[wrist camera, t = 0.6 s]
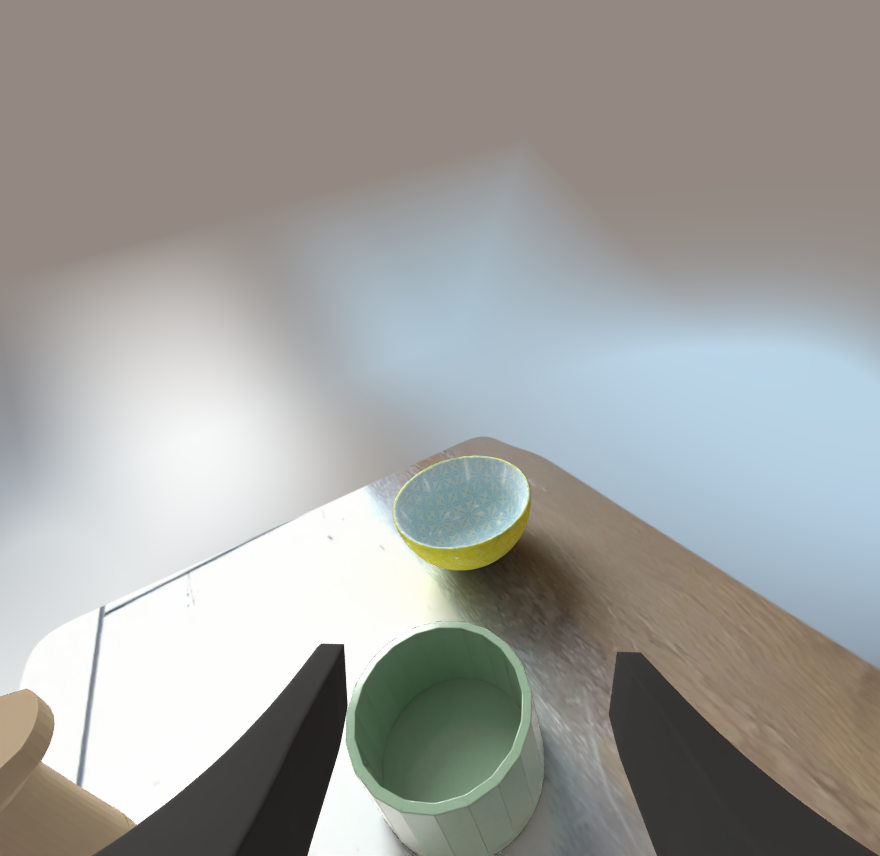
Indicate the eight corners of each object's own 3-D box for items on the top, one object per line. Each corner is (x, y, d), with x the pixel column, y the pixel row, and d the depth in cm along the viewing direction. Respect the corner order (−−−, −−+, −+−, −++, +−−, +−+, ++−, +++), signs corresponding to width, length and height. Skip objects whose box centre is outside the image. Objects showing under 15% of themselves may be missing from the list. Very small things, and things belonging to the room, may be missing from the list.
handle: (215, 895, 26) (34, 755, 18) (83, 1008, 23) (-189, 900, 16) (197, 813, 30) (40, 668, 22) (82, 903, 27) (-140, 774, 20)
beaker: (582, 790, 26) (573, 732, 23) (417, 914, 24) (382, 867, 21) (487, 650, 35) (471, 594, 32) (357, 731, 32) (325, 677, 29)
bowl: (565, 532, 42) (558, 476, 39) (483, 629, 36) (467, 571, 33) (467, 492, 50) (455, 442, 47) (385, 566, 44) (364, 514, 41)
